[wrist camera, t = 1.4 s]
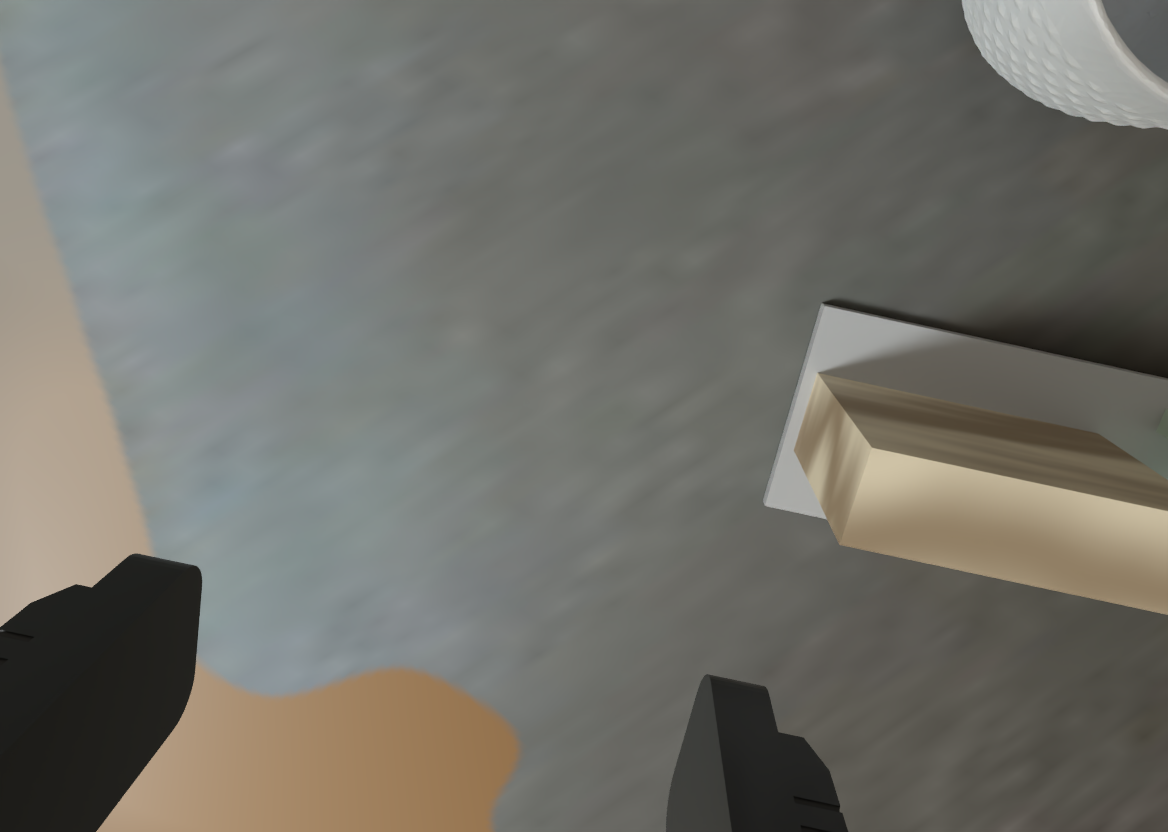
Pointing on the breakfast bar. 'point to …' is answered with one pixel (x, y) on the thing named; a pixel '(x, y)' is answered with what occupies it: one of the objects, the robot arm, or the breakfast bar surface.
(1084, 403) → the board
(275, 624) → the breakfast bar surface
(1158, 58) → the mug
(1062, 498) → the tan wooden block
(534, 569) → the breakfast bar surface
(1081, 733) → the breakfast bar surface
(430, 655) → the breakfast bar surface
